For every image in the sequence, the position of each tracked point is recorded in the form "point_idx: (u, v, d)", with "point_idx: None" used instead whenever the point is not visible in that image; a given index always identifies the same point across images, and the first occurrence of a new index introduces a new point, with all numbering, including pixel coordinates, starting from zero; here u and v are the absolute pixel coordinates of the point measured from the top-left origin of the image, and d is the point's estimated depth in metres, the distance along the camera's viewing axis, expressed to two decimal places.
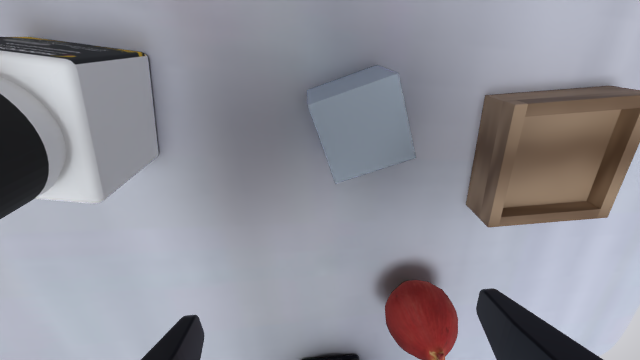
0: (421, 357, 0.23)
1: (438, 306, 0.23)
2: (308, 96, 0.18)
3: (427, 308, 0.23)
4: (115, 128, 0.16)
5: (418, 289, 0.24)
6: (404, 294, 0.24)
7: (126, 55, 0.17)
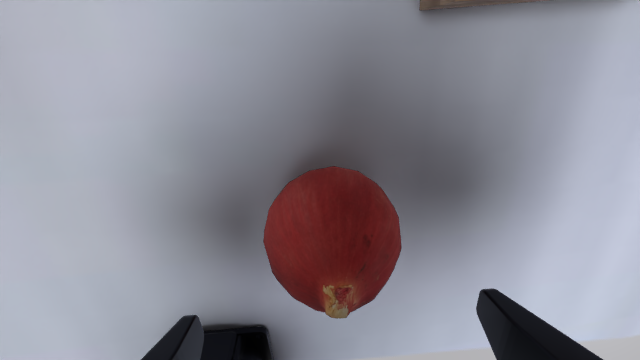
0: (313, 303, 0.10)
1: (353, 195, 0.11)
2: None
3: (328, 197, 0.11)
4: None
5: (321, 172, 0.12)
6: (293, 183, 0.12)
7: None
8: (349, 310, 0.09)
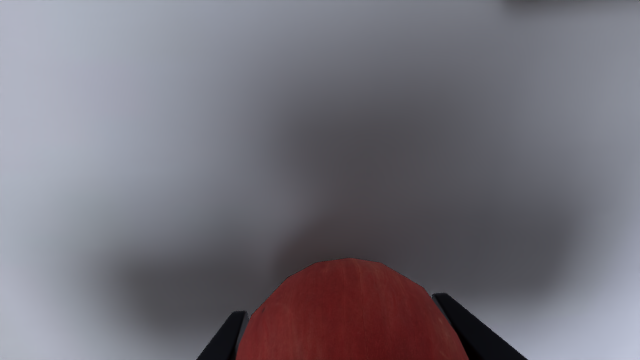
0: None
1: (399, 358, 0.05)
2: None
3: None
4: None
5: (332, 286, 0.07)
6: (282, 304, 0.07)
7: None
8: None
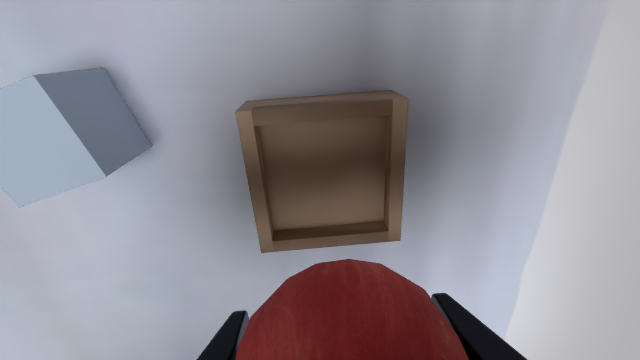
0: None
1: None
2: None
3: None
4: None
5: (332, 287, 0.06)
6: (281, 306, 0.07)
7: None
8: None
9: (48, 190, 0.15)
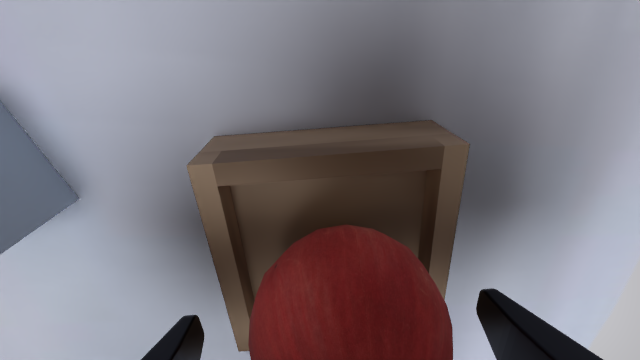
0: None
1: (388, 291, 0.07)
2: None
3: (350, 297, 0.07)
4: None
5: (333, 242, 0.08)
6: (292, 259, 0.08)
7: None
8: None
9: None
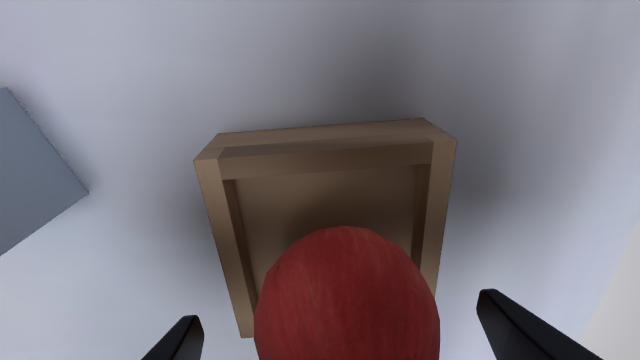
0: None
1: (384, 293, 0.07)
2: None
3: (350, 300, 0.07)
4: None
5: (333, 246, 0.09)
6: (294, 262, 0.09)
7: None
8: None
9: None
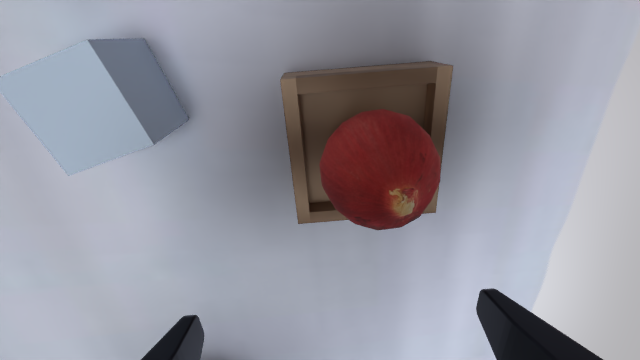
0: (375, 212, 0.12)
1: (407, 124, 0.13)
2: None
3: (388, 125, 0.13)
4: None
5: (374, 111, 0.14)
6: (350, 120, 0.14)
7: None
8: (414, 205, 0.11)
9: (97, 158, 0.15)
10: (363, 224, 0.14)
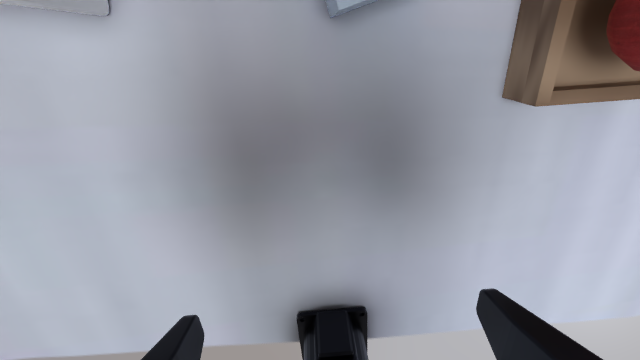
0: None
1: None
2: None
3: None
4: None
5: None
6: None
7: None
8: None
9: None
10: None
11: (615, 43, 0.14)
